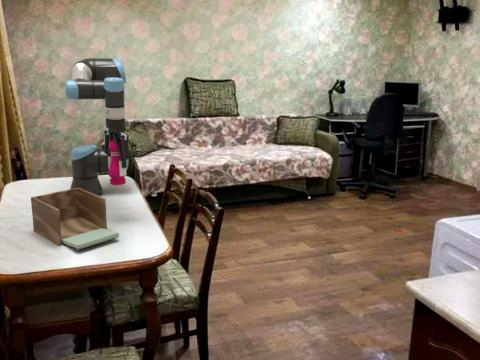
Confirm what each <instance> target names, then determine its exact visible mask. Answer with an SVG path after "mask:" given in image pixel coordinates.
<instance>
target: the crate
mask: <svg viewBox="0 0 480 360" xmlns="http://www.w3.org/2000/svg"><path fill="white" fill-rule="evenodd" d="M106 200H107V199H106V198H104V197H102V196H101V195H100V196H98V195H95V194H93V193H91V192H88V191H86V190H84V189H81V188H79V187H78V188H73V189H70V188H68V189H64V190H59V191H56V192H55V191H54V192H51V193H46V194H41V195H36V196H31V197H30V201H31V202H30V203H31V214H32V225H33V227H32V228H33V231H34V232H35V233H37V234H39V235H41V236H42V237H43V238H46V239H47V240H48V241H50V242H52V243H53V244H55V245H57V246H58V247H60V246H63V243H62V239H65V238H69V237H72V236H76V235H79V234H83V233H86V232H90V231H93V230H97V229H100V228H103V229H107V230H108V222H107V204H106V202H107V201H106Z"/></svg>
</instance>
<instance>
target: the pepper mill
mask: <svg viewBox="0 0 480 360" xmlns="http://www.w3.org/2000/svg"><path fill="white" fill-rule="evenodd" d="M118 142H120V141H118ZM109 148H110V150H111V151H110V152H111V154H110V155H111V156H112V161H111V165H110V168H109V171H108V172H107V174H108V176H109V178H110V179H109V184H110V185H113V186H123V185H125V184H126V182H127V181H126V178H125V177H126V176H127V175H128V174H127V171H126V175H125V176H120V170H119V160H120V155H119V151H118V145H117V144H116V143H115V140H111V141H110V142H109Z"/></svg>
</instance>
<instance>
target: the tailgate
mask: <svg viewBox="0 0 480 360" xmlns="http://www.w3.org/2000/svg"><path fill="white" fill-rule="evenodd" d="M119 237H120V232H118V231H117V232H116V231H114V230H109V229H108V228H107V229H103V228H100V229H97V230H93V231H90V232H86V233H83V234H79V235H76V236H72V237H69V238H65V239H62V244H63V245H67V246H69V247H72V248H75V249H76V251H79V250H82V249H85V248H89V247H92V246H96V245H99V244H101V243H104V242H108V241H110V240H114V239H117V238H119Z"/></svg>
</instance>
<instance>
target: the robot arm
mask: <svg viewBox="0 0 480 360" xmlns="http://www.w3.org/2000/svg"><path fill="white" fill-rule="evenodd" d="M69 76H70V79H69V80H66V81H65V84H64V85H65V86H64V87H65V88H64V89H65V97H66V99H67V100H75V101H77V100H101V102H102V119H103V120H102V121H103V126H102V127H103V142H102V143H101V144H100V146H101V147H100V148H98V147H97V145H95V144H85V145H81V146H76V147H74V148H73V149H72V150H71V156H70V157H71V158H70V160H71V171H72V172H71V173H72V182H71V184H70V188H69V189H73V188H78V187H79V188H81V189H84V190H86V191H88V192H91V193H93V194H95V195H98V196H100V197H101V196H102V194H103V193H104V192H103V186H102V184H101V181H100V179H99V173H108V171H109V168H110V165H111V161H112V156H111V155H110V154H111V152H110V151H111V150H110V148H109V142H110V141H111V140H115V143H116V144H117V145H118V151H119V155H120V160H119V170H120V176H125V175H126V176H127V174H126V172H127V170H128V168H129V160H130V157H131V156H130V145H129V134H125V133H124V129H125V127H126V118H125V117H126V108H125V107H126V106H125V105H126V104H125V84H126V83H127V79H126V72H125V66H124V62H123V61H122V60H121V59H119V58H113V57H111V58H109V57H108V58H107V57H105V58H102V57H101V58H100V57H99V58H98V57H97V58H95V57H92V58H91V57H87V58H83V59H80V60H78V61H77V62H75V63H74V64H72V65H71V67H70V71H69ZM118 141H120V142H118ZM126 176H125V177H126Z"/></svg>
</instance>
